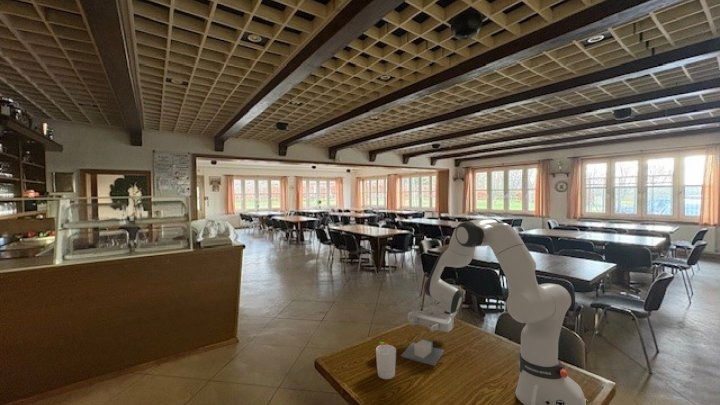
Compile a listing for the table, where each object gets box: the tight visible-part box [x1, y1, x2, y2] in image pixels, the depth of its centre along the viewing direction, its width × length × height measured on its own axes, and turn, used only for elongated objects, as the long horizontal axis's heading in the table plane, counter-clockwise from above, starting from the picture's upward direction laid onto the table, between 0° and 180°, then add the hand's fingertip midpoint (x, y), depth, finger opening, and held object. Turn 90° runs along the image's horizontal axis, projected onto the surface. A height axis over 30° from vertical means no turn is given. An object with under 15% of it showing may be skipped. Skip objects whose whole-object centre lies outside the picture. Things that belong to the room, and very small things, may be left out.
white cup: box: [375, 344, 397, 380], centre depth 123 cm, size 8×8×10 cm
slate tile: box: [400, 341, 445, 367], centre depth 139 cm, size 15×14×1 cm
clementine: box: [376, 341, 390, 348], centre depth 135 cm, size 8×7×7 cm
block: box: [414, 338, 434, 358], centre depth 138 cm, size 4×4×8 cm
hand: (420, 326), depth 136 cm, fingers open, 8 cm apart
